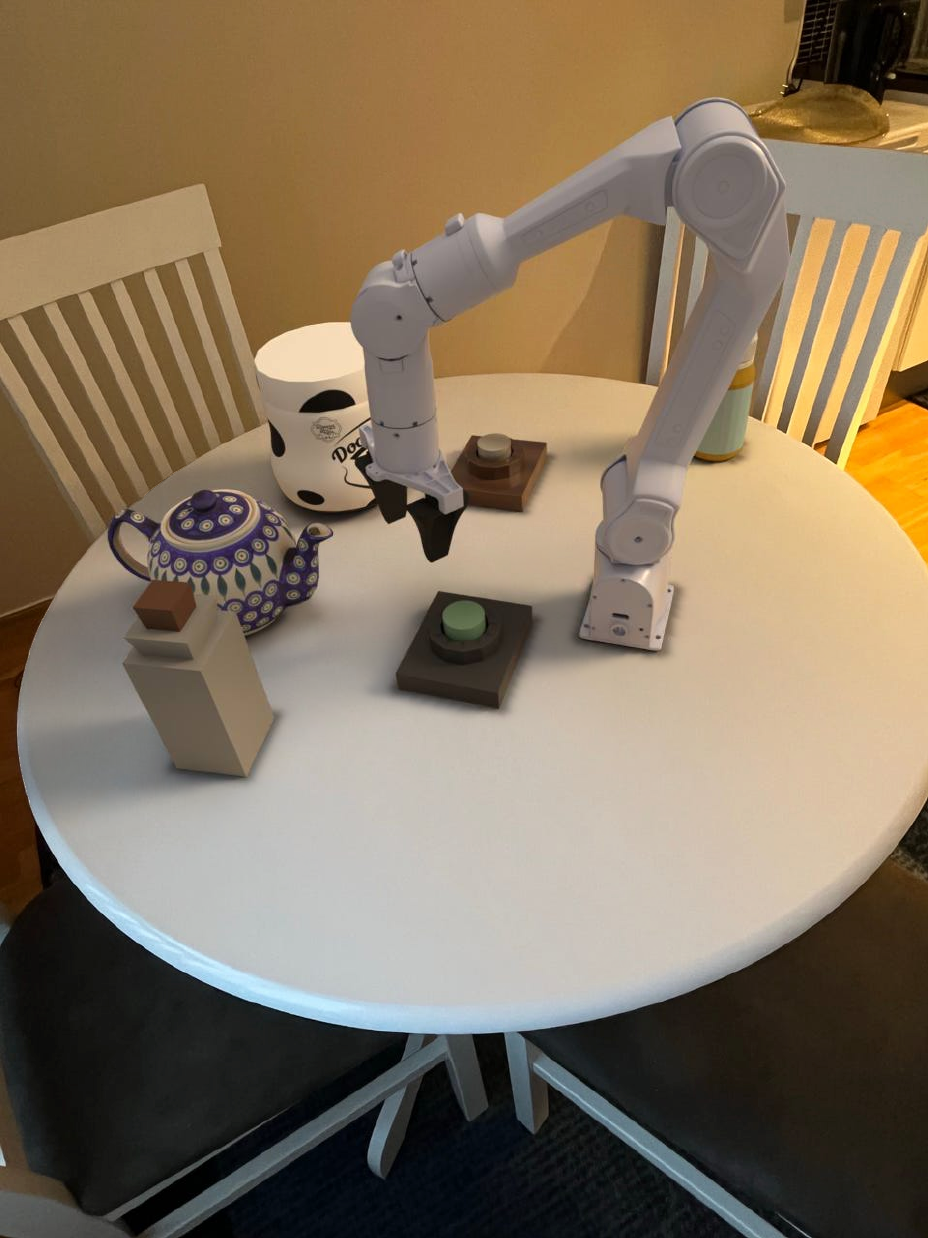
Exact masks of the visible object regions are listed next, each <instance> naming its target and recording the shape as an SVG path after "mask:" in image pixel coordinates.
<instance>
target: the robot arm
mask: <svg viewBox="0 0 928 1238" xmlns="http://www.w3.org/2000/svg"><path fill="white" fill-rule="evenodd" d="M786 191H787V183H786V180H785V179H784V177H783V175H782V172H781V170H780V169H779V167H778V166H777V163H776V162H775V160H774V158H773V156H772V154H771V152H770V150H769V148H768V147H767V146H766V144H765V143H764V142H763V141H762V139H761V137H760V135H759V133H758V131H757V129H756V127H755V126H754V124H753V122H752V120H751V118H750V116H749V114H748V113H747V112H746V111H745V109H744V108H743V107H742V106H741V105H739V103H737V102H735V101H733V100H731V99H728V98H724V97H715V96H714V97H706V98H703V99H701V100H697V101H696V102H694V103H691V104H690V105H688V106H687V107H686V108H685V109H683V110H682V111H681V112H680V113H679V114H678V115H677V116H676V117H675V119H673V116H672V115H669V116H667V117H664V118H661V119H659V120H656V121H654V122H652V123H651V124H649V125H648V126H646V127H644V128H643V129H641V130H640V131H638V132H637V133H635V134H634V135H632V136H630V137H629V138H627V139H626V140H625V141H623V142H621V143H620V144H617V146H615V147H613V148H612V149H610V150H608V152H606V153H604V154H603V155H601V156H599V157H598V158H596V159H595V160H593V161H592V162H590V163H589V164H587V165H586V166H584V167H582V168H581V169H579V170H577V171H576V172H575V173H573V174H571V175H570V176H567V178H565V179H563V180H562V181H560V182H559V183H557V184H556V185H554V186H552V187H551V188H549V189H548V190H546V191H545V192H543V193H541V194H540V195H538V196H537V197H535V198H534V199H532V200H530V201H529V202H528V203H526V204H524V205H523V206H521V207H519V208H518V209H516V210H515V211H513V212H512V213H511V214H509V215H507V216H506V217H498V216H494V215H490V214H487V213H483V212H477V213H475V214H473V215H472V216H470V217H468V218H466V219H465V217H464V215H463V214H462V213H461V212H459V213H457V214H455V215H453V216H452V217H450V218H448V219H447V220H446V222H445V225H444V230H445V232H443V233H440V234H439V235H437V236H436V237H434V238H432V239H431V240H429V241H427V242H426V243H424V244H422V245H420V246H419V247H417V248H415V249H414V250H412V251H410V252H409V253H408V252H407V251H406V249H401V250H399V251H398V252H395V253H394V254H393V256H392V258H391V260H386V261H382V262H380V263H378V264H376V265H375V266H374V267H373V268H371V269H370V270H369V271H368V273H367V275H366V277H365V278H364V281H363V283H362V285H360V289H359V290H358V293H357V295H356V297H355V299H354V300H353V303H352V307H351V311H350V315H349V318H350V319H349V322H350V323H351V329H352V332H353V334H354V336H355V338H356V340H357V341H358V343H359V344H360V345H361V346H362V347H363V354H364V362H365V363H364V372H365V379H366V387H367V394H368V402H369V409H370V416H371V423H369V424H367V425H364V426H361V427H359V434H360V441H361V445H362V446H363V447H364V448H366V449H368V451H366V454H365V455H363V456H360V457H358V458H357V459H356V460H355V466H356V467H357V469H358V470H359V471H360V472H361V473H362V475H363V476H364V478H365V479H366V481H367V482H368V484H369V486H370V488H371V490H372V492H373V494H374V496H375V499H376V501H377V503H378V504H377V506H378V508H379V511H380V513H381V515H382V518H383V520H384V521H385V522H386V523H387V524H388V525H390V524H393V523H395V522H397V521H400V520H402V519H405V518H406V517H407V513H408V514H409V515H410V517H411V518H412V520H413V521H414V523H415V525H416V528H417V530H418V533H419V536H420V541H421V546H422V550H423V553H424V556H425V558H426V560H427V561H428V562H429V563H431V564H433V563H435V562H437V561H439V560H441V559H443V558H445V557H447V556H448V555H449V552H450V549H451V544H452V540H453V536H454V532H455V530H456V527H457V524H458V522H459V521H460V519H461V517H462V515H463V513H464V512H465V510H466V509H467V507H468V506H470V505H469V503H470V500H469V494H468V493H467V492H466V491H464V490H463V488H462V487H461V486H459V485H458V484H457V483H456V481H455V480H454V478H453V476H452V474H451V472H450V471H451V469H450V467H449V465H448V462H447V461H446V459H445V456H444V455H443V453H442V450H441V449H440V443H439V428H438V416H437V415H438V414H437V412H438V411H437V401H436V400H437V399H436V389H435V387H436V386H435V375H434V361H433V360H434V359H433V356H432V355H431V344H430V328H435V327H439V326H442V325H445V324H447V323H448V322H451V321H452V320H454V319H456V318H458V317H460V316H462V315H463V314H465V313H467V312H469V311H471V310H473V309H475V308H477V307H478V306H480V305H482V304H484V303H486V302H488V301H490V300H492V299H493V298H495V297H497V296H499V295H501V294H503V293H504V292H506V291H508V290H511V289H512V288H513V287H514V285H515V283H516V281H517V277H518V274H519V270H520V266H521V265H522V264H523V263H525V262H527V261H529V260H532V259H533V258H535V257H536V256H539V255H541V254H543V253H545V252H548V251H550V250H551V249H554V248H556V247H558V246H560V245H562V244H565V243H566V242H569V241H570V240H572V239H575V238H577V237H579V236H580V235H582V234H585V233H587V232H589V231H591V230H593V229H595V228H598V227H599V226H601V225H603V224H605V223H607V222H610V221H613V220H614V219H617V218H618V217H621V216H625V217H630V218H633V219H636V220H640V221H644V222H647V223H649V224H654V225H657V226H665V227H666V226H667V212H666V211H667V209H666V208H670V207H671V208H672V207H673V208H674V211H675V214H676V215H677V217H678V219H679V220H680V221H681V222H682V224H683V225H684V226H685V227H686V228H687V229H688V230H689V231H690V232H691V233H693V235H694V236H696V237H697V238H698V239H699V240H700V241H701V242H702V243H704V244H705V245H706V249H707V251H708V253H709V255H710V257H711V259H712V262H713V263H712V265H711V268H710V270H709V272H708V274H707V275H706V276H707V277H706V279H705V281H704V283H703V285H702V287H701V290H700V292H699V295H698V296H697V299H696V302H695V304H694V306H693V308H692V310H691V313H690V315H689V317H688V320H687V321H686V323H685V326H684V328H683V330H682V333H681V335H680V337H679V340H678V342H677V344H676V347H675V349H674V350H673V353H672V356H671V358H670V360H669V362H668V364H667V366H666V369H665V371H664V373H663V376H662V378H661V380H660V382H659V385H658V387H657V390H656V392H655V394H654V396H653V398H652V401H651V403H650V405H649V408H648V410H647V412H646V414H645V417H644V419H643V421H642V424H641V426H640V428H639V431H638V432H637V434H636V435H634V436H631V437H629V438H628V439H627V441H626V443H625V445H624V447H623V450H622V451H621V453H619V455H618V456H616V457H615V458H614V459H613V460H611V461H610V462H609V463H608V464H607V466H606V467H605V468H604V470H603V471H602V474H601V476H600V480H599V481H600V485H599V486H600V491H601V497H602V498H601V499H602V520H601V522H600V523H599V524H598V526H597V527H596V530H595V533H594V562H593V563H594V565H593V582H592V585H591V589H590V594H589V595H590V596H589V598H590V599H589V601H588V604H587V607H586V609H585V613H584V616H583V619H582V622H581V625H580V627H579V633H578V636H579V638H580V639H584V640H589V641H595V642H600V643H607V644H614V645H620V646H625V647H631V648H636V649H637V648H638V649H643V650H649V651H655V652H657V651H658V652H659V651H660V650H662V647H663V642H664V637H665V634H666V633H665V632H666V629H667V626H668V625H667V624H668V620H669V615H670V610H671V607H672V606H671V605H672V602H673V597H674V592H675V587H674V586H673V585H671V584H669V581H670V571H671V564H672V554H673V546H674V542H675V540H676V530H675V529H676V528H675V521H676V517H677V515H678V513H679V511H680V509H681V506H682V502H683V498H684V497H683V496H684V490H685V486H686V478H687V473H688V468H689V467H690V464H691V462H692V460H693V458H694V457H695V456H694V454H695V452H696V450H697V448H698V446H699V444H700V443H701V441H702V439H703V437H704V435H705V433H706V431H707V429H708V427H709V425H710V423H711V421H712V419H713V417H714V415H715V413H716V411H717V409H718V407H719V405H720V403H721V401H722V399H723V397H724V395H725V393H726V391H727V389H728V387H729V385H730V383H731V382H732V380H733V378H734V376H735V374H736V372H737V370H738V368H739V366H740V364H741V362H742V360H743V358H744V356H745V354H746V352H747V350H748V348H749V346H750V344H751V342H752V340H753V338H754V336H755V334H756V332H757V333H758V330H759V329H760V326H761V324H762V323H763V321H764V319H765V317H766V314H767V312H768V311H769V309H770V307H771V305H772V303H773V301H774V299H775V297H776V295H777V293H778V291H779V289H780V287H781V286H782V283H783V281H784V279H785V278H786V275H787V273H788V270H789V267H790V264H791V253H790V251H791V250H790V241H789V231H788V230H789V229H788V220H787V207H786V193H787V192H786ZM408 488H409V489H413V490H415V491H418V492H420V493H423V494H424V497H421V498H419V499H417V500H415V501H412V502H410V503H408Z"/></svg>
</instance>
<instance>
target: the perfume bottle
mask: <svg viewBox="0 0 928 1238" xmlns="http://www.w3.org/2000/svg"><path fill="white" fill-rule="evenodd" d="M132 609H133V610H134V612H135V613H136V615H137V618H136V619H135V620H134V622H133V624H132V625H131V626H130V627H129V629H128V630H127V632H125V635H124V636H123V638H124V639H125V640H126V641H127V642H128V643H129V644H130V645H131V646H132V647H131V649H130V651H129V652H128V654H127V655H126V657H125V658H124V660H122V663H121V664H122V666H123V668H124V670H125V672H126V674H127V676H128V678H129V679H130V682H131V684H132V685H133V688H134V689H135V692H136V693H137V695H138V697H139V699H140V701H141V702H142V704H143V707H144V708H145V711H146V713H147V714H148V716H149V718H150V720H151V722H152V723H153V725H154V728H155V729H156V731H157V733H158V735H159V737H160V739H161V741H162V743H163V745H164V747H165V748H166V751H167V752H168V755H169V756H170V759H171V760H172V762H173V764H174V766H175V768H176V769H181V770H188V771H198V772H204V773H211V774H219V775H220V774H221V775H226V776H227V775H228V776H235V777H245V778H247V776H248V775H249V773H250V771H251V768H252V766H253V764H254V763H255V761H256V758H257V756H258V754H259V752H260V750H261V747H262V746H263V743H264V742H265V739H266V737H267V735H268V733H269V730H270V728H271V727H272V725H273V722H274V721H275V715H274V713H273V711H272V708H271V705H270V702H269V698H268V697H267V694H266V690H265V688H264V686H263V683H262V680H261V677H260V674H259V672H258V670H257V667H256V663H255V661H254V658H253V656H252V652H251V650H250V648H249V645H248V642H247V639H246V637H245V636H244V633H243V631H242V628H241V625H240V622H239V620H238V617H237V614H236V612H233V611H221V610H217V596H209V595H197V594H193V591H192V587H191V584H190V583H189V582H176V581H163V580H152V581H151V582H150V583H149V584H148V585H147V587H146V588H145V590H143V592H142V593H141V595H140V596H139V598H138V599H137V601H136V602H135V603H134V605H133V606H132Z"/></svg>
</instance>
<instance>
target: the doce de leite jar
mask: <svg viewBox="0 0 928 1238" xmlns="http://www.w3.org/2000/svg"><path fill="white" fill-rule="evenodd" d="M253 363H254V372H255V373H254V374H255V380H256V383H257V386H258V388H259V389H258V390H259V391H260V399H261V403H262V406H263V410H264V413H265V416H266V418H267V422H268V423H267V424H268V426H269V432H270V446H269V447H270V448H269V449H270V450H269V454H270V464H271V469H272V472H273V474H274V477H275V480H276V481H277V483H278V485H279V487H280V490H281V491H282V492H283V494H284V495H285V497H287V498H288V499H289V500H290V501H291V502H292V503H294V504H296V505H297V506H298V507H300V508H303V509H306V510H310V511H313V512H317V513H321V514H322V513H323V514H324V513H325V514H328V513H329V514H330V513H331V514H345V513H350V512H355V511H356V512H357V511H362V510H366V509H368V508H371V507H373V506H375V505H378V503H377V501H376V499H375V496H374V494H373V492H372V490H371V488H370V486H369V484H368V482H367V481H366V479H365V478H364V476H363V475H362V473H361V472H360V471H359V470H358V469H357V467H356V466H355V460H356V459H357V458H358V457H360V456H363V455H365V454H366V451H368V449H366V448H364V447H363V446H362V445H361V441H360V434H359V427H361V426H364V425H367V424H369V423H371V416H370V409H369V402H368V394H367V387H366V379H365V372H364V363H365V362H364V354H363V347H362V346H361V345H360V344H359V343H358V341H357V340H356V338H355V336H354V334H353V332H352V329H351V323H350V321H348V322H347V321H346V322H345V321H343V322H339V321H338V322H336V321H335V322H333V321H332V322H323V323H316V324H310V325H304V326H301V327H299V328H295V329H292V330H288V331H285V332H284V333H282V334H280V335H278V336H276V337H273V338H272V339H270V340H268V341H267V342H266V343H265V344H264V345H262V347H260V348H259V349H258V351H257V352H256V355H255V357H254V360H253Z"/></svg>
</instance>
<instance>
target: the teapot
mask: <svg viewBox="0 0 928 1238" xmlns="http://www.w3.org/2000/svg"><path fill="white" fill-rule="evenodd" d="M123 523H127V524H129V525H131V526H133V527H134V528H135V529H136V530H138V532H140V533H141V534H142V535H143V536H144V538H145V539H146V540H147V542H148V543H149V545H148V549H147V555H146V557H147V558H146V559H147V560H146V562H147V566H146V565H144V564H142V563H141V562H139V561H138V560H136V559H135V558H134V557H133V556H131V554H130V553H129V552H128V550H127V549H126V547H125V546H124V543H123V539H122V537H121V526H122V525H123ZM333 536H334V531H333V529H332V528H331V527H330V526H328V525H327V524H325V523H322V522H315V521H314V522H312V523H310V524H308V525H306V526H305V527H304V529H303V530H302V532H301V533H300V536H299V537H298V539H297V541H296V538H295V536H294V533H293V531H292V529H291V528H290V525H289V524H288V522H287V520H286V519H285V518H284V517H283V515H281V514H280V512H278V511H277V510H276V509H274V508H273V507H272V506H270V505H268V504H267V503H265V502H263V501H261V500H258V499H254V498H253V497H252V496H251V495H249V494H247V493H246V492H245V493H244V492H242V491H240V490H237V489H230V488H228V489H227V488H225V489H224V488H223V489H222V488H221V489H212V490H211V489H202V490H198V491H197V492H195V493H193V494H192V496H189V497H187V498H185V499H183V500H181V501H180V502H178V503H177V504H175V505H174V506H172V507H171V508H170V509H169V510H168V511H167V512H166V513H165V515H164V516H163V518H162V520H161V522H156V521H154V520H153V519H152V518H149V517H148V516H146V515H145V514H142V513H140V512H138V511H136V510H133V509H129V508H125V509H122V510H120V511H119V512H117V513H116V514H115V515H114V516H113V518H112V519H111V521H110V522H109V525H108V529H107V542H108V546H109V548H110V549H109V550H111V553H112V554H113V556H114V558H115V559H116V561H117V562H118V563H119V565H121V566H122V567H123V568H124V569H125V570H126V571H127V572H129V573H130V574H131V575H133V576H134V577H135V576H136V577H137V578H139V579H141V580H143V581H146V582H150V583H151V581H152V580H163V581H176V582H189V583H190V584H191V587H192V591H193V594H197V595H209V596H217V610H221V611H233V612H236V614H237V617H238V620H239V622H240V625H241V628H242V631H243V633H244V636H250V635H252V634H255V633H258V632H259V631H261V630H263V629H265V628H266V627H268V626H269V625H270V624H272V623H273V622H274V621H275V620H276V619H277V618H278V617H279V616H281V614H282V613H283V612H285V610H286V609H287V608H289V607H292V606H293V607H294V606H297V605H301V604H303V603H305V602H306V601H308V600H310V599H311V598H312V596H313V595H314V593H315V592H316V590H317V588H318V586H319V579H320V560H319V559H320V558H319V546H320V544H321V543H323V542H324V541H326V540H328V539H331V538H332V537H333Z"/></svg>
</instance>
